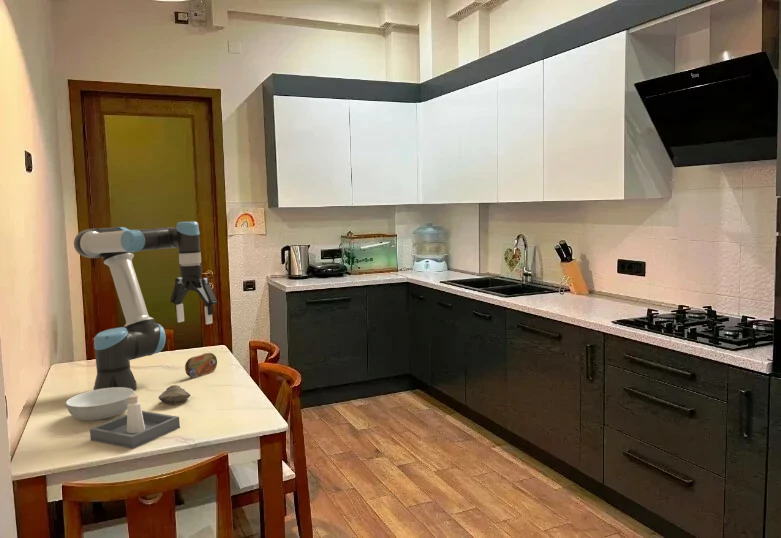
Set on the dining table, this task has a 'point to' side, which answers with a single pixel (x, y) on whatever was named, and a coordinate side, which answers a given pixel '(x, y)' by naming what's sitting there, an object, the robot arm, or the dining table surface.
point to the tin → (201, 365)
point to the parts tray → (118, 435)
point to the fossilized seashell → (173, 395)
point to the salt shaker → (134, 415)
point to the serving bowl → (99, 403)
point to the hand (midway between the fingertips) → (194, 322)
